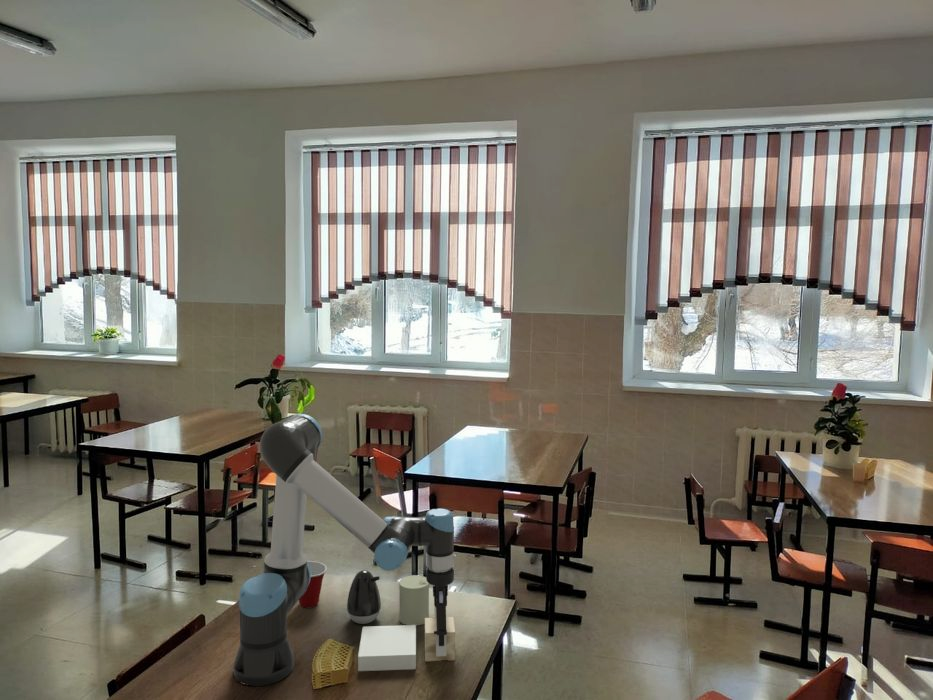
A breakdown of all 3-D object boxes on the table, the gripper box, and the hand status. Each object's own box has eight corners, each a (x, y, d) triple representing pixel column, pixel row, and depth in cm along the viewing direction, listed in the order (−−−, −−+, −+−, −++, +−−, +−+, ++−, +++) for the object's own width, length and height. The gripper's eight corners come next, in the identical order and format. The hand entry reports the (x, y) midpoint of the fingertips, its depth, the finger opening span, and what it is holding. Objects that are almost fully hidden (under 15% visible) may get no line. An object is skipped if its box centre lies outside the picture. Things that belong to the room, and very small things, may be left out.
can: (424, 627, 188) (424, 588, 187) (394, 624, 190) (394, 585, 189) (432, 612, 197) (432, 575, 196) (404, 609, 199) (404, 572, 198)
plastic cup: (322, 612, 196) (322, 574, 195) (287, 611, 196) (287, 574, 195) (330, 595, 207) (330, 560, 206) (297, 595, 207) (297, 559, 206)
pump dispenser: (370, 631, 185) (370, 581, 184) (340, 624, 189) (339, 574, 188) (387, 615, 195) (387, 567, 193) (358, 608, 199) (358, 561, 197)
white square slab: (358, 671, 166) (358, 656, 165) (362, 640, 181) (362, 626, 180) (415, 669, 167) (415, 654, 167) (415, 638, 182) (415, 624, 181)
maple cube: (425, 661, 171) (425, 633, 170) (424, 645, 179) (424, 617, 178) (454, 660, 171) (455, 632, 171) (453, 644, 179) (453, 617, 178)
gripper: (456, 587, 161) (456, 667, 163) (451, 548, 185) (451, 618, 187) (427, 588, 160) (427, 668, 162) (425, 549, 185) (425, 619, 187)
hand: (440, 641), depth 175 cm, fingers open, 13 cm apart
